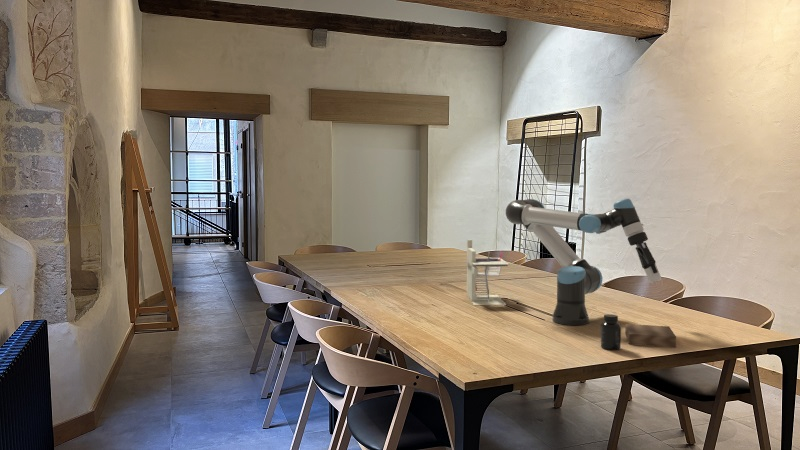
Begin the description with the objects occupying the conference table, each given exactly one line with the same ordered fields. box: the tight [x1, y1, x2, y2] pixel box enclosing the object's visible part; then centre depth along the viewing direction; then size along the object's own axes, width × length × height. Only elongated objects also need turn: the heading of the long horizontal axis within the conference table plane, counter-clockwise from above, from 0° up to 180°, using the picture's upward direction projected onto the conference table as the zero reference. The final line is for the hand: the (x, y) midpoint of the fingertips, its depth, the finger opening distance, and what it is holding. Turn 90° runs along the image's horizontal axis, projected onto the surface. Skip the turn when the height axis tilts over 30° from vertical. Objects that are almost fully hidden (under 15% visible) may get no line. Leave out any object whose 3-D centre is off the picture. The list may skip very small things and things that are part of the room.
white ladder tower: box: [466, 239, 510, 306], centre depth 303 cm, size 27×18×30 cm
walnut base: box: [624, 323, 677, 348], centre depth 225 cm, size 16×16×4 cm
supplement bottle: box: [600, 313, 622, 351], centre depth 214 cm, size 7×7×12 cm
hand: (656, 282), depth 243 cm, fingers open, 13 cm apart
